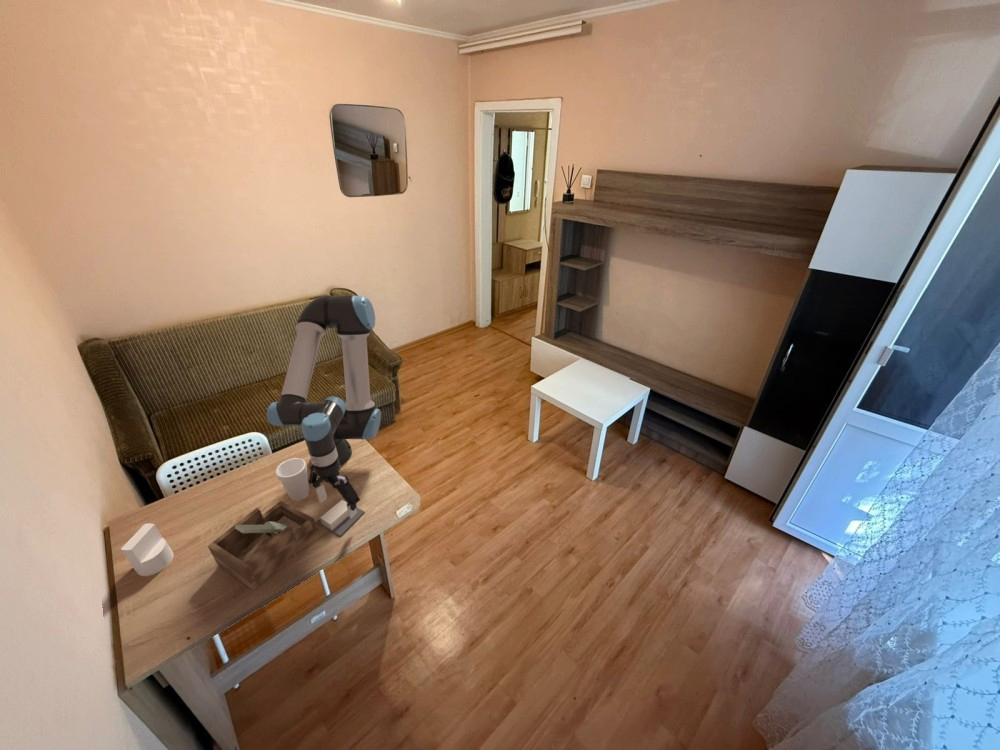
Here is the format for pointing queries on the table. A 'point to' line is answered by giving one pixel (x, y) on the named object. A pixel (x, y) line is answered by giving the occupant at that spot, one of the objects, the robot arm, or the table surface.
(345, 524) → the mat
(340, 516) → the part
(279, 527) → the bar
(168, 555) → the base with upright slab
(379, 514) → the table surface
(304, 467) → the foam cup
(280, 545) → the wooden box
